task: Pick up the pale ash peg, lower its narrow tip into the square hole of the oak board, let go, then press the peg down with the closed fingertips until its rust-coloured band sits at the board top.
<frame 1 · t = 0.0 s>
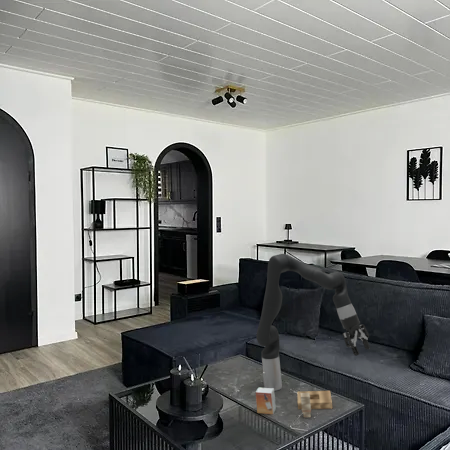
hand: (362, 352, 186), 31 cm above the table, tool tilted 20°, fingers open, 8 cm apart
small box: (266, 411, 207), on the table
ash peg: (307, 415, 199), on the table
oak board: (314, 402, 210), on the table
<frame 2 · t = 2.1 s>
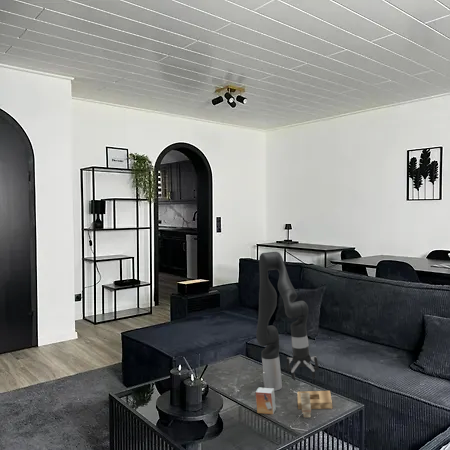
hand: (303, 379, 198), 17 cm above the table, tool pointing down, fingers open, 8 cm apart
nothing on the table moved.
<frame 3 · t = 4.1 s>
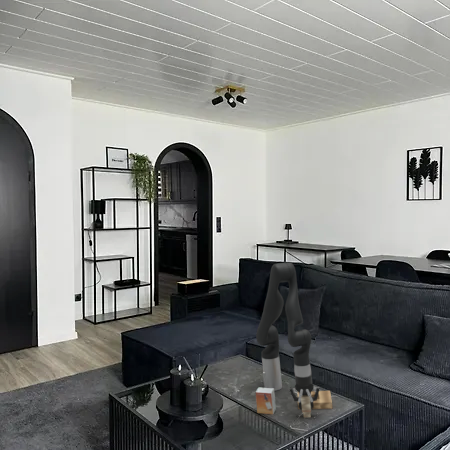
hand: (306, 408, 199), 3 cm above the table, tool pointing down, fingers closed on ash peg, 4 cm apart
ash peg: (307, 415, 199), on the table, touching gripper
everything else where it was.
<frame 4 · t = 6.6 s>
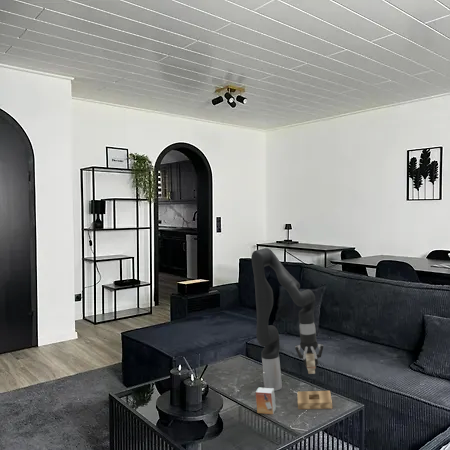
hand: (310, 365, 209), 19 cm above the table, tool pointing down, fingers closed on ash peg, 4 cm apart
ash peg: (311, 372, 209), point 15 cm above the table, touching gripper
everything else where it was.
when the fingers open (4 cm above the table, at t = 9.4 s): ash peg stays where it is, resting in oak board.
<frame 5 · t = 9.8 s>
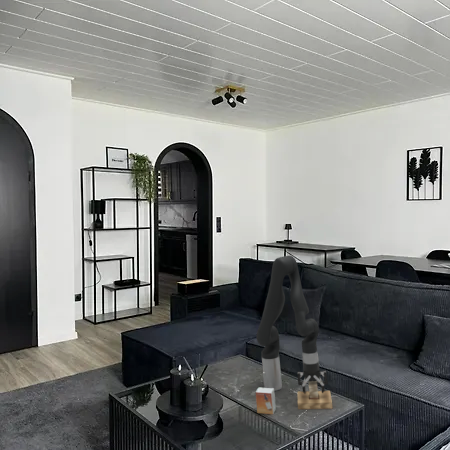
hand: (313, 392, 210), 5 cm above the table, tool pointing down, fingers open, 8 cm apart
ash peg: (314, 402, 210), resting in oak board
everything else where it was.
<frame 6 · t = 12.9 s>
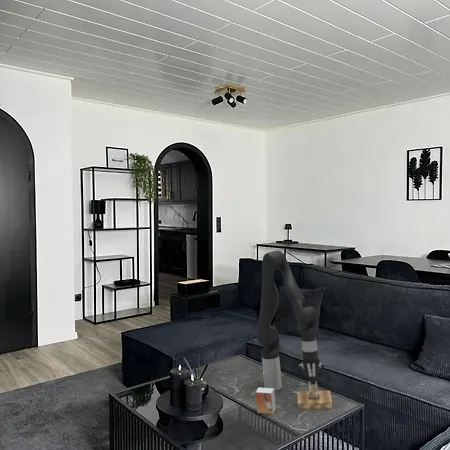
hand: (313, 383, 209), 10 cm above the table, tool pointing down, fingers closed
ash peg: (314, 402, 210), resting in oak board, touching gripper
everything else where it was.
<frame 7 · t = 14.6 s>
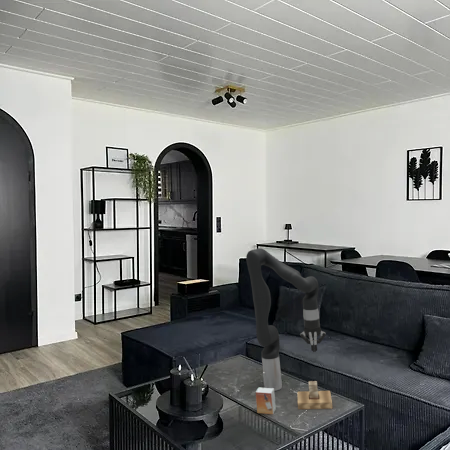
hand: (314, 351, 213), 24 cm above the table, tool pointing down, fingers closed
ash peg: (314, 402, 210), resting in oak board
everything else where it was.
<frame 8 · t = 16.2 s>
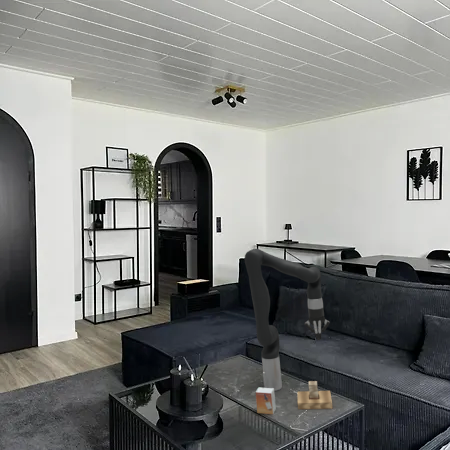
hand: (318, 339, 219), 27 cm above the table, tool pointing down, fingers closed
nothing on the table moved.
at the end: ash peg 0.0 cm off-centre on the oak board, point 0.0 cm above the oak board's base; ash peg tilted 0°; the gripper is holding nothing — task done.
